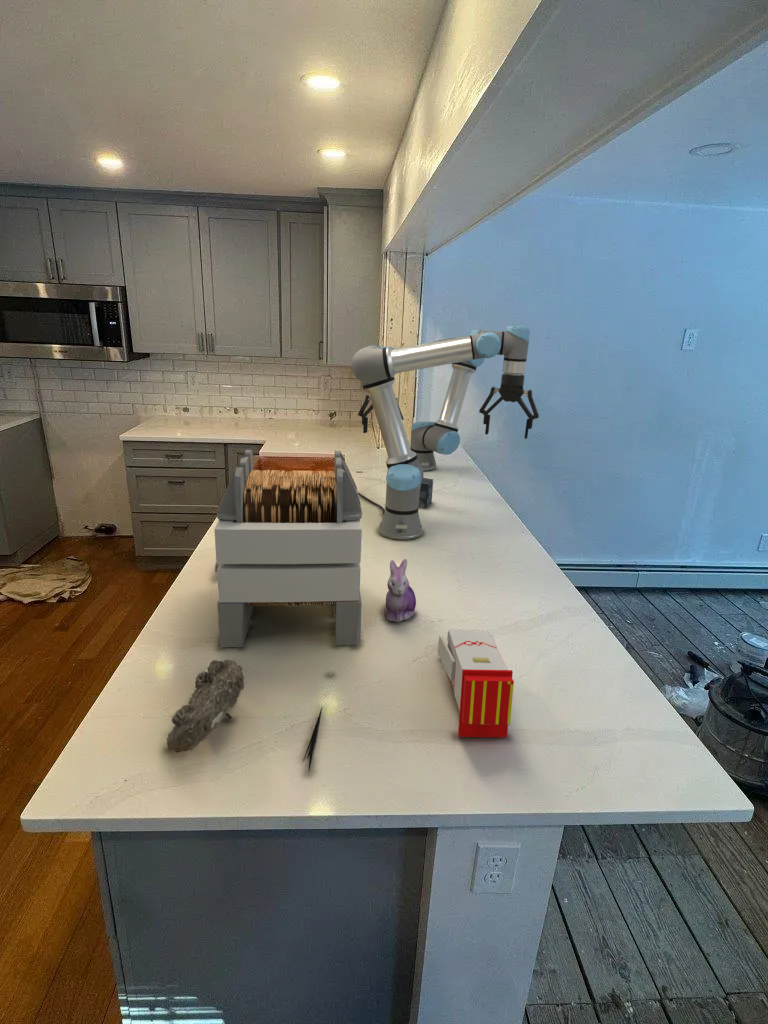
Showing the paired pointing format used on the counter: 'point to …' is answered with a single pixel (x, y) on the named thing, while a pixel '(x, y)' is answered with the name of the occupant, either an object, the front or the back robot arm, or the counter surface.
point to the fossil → (206, 705)
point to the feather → (313, 740)
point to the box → (425, 493)
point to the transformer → (288, 546)
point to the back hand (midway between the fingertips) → (379, 434)
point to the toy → (478, 682)
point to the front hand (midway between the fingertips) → (506, 435)
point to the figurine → (399, 594)
